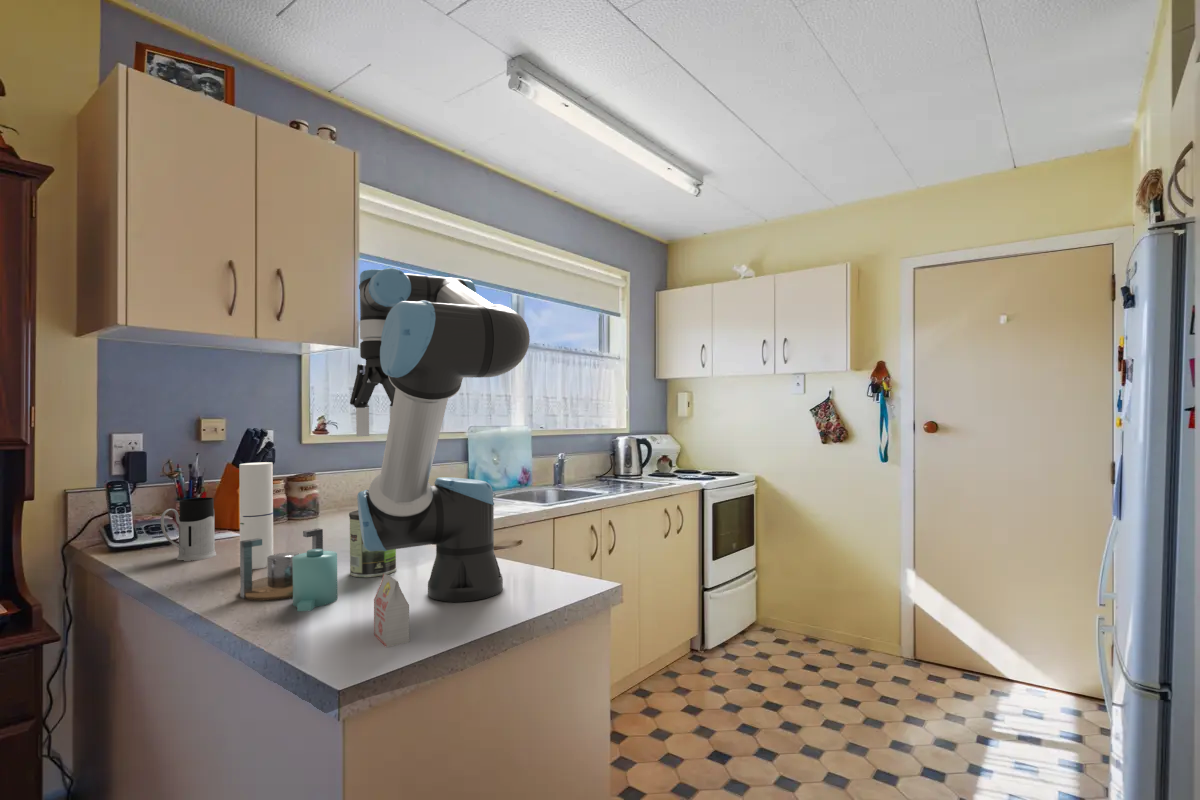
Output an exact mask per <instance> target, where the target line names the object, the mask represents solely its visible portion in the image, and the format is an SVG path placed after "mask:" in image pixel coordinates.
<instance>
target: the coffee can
mask: <svg viewBox="0 0 1200 800" xmlns="http://www.w3.org/2000/svg"><path fill="white" fill-rule="evenodd" d="M348 516H349V575H350V576H351V577H354V578H376V577H383V573H384V574H388V575H390V574H393V573H394V572H396V571H397V549H393V550H388V551H369V550H367V549H366V548H365V547H364V544H363V540H362V535H361V529H360V521H359V513H358V509H357V510H353V511H351V512H349V514H348Z"/></svg>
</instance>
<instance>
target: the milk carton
mask: <svg viewBox="0 0 1200 800" xmlns="http://www.w3.org/2000/svg"><path fill="white" fill-rule="evenodd" d="M373 632H374V633H373V635H374V636H375V638H377V640H378V641H380V643H382V644H383V646H384V647H385V648H388V647H389V648H390V647H393V646H397V645H398V646H399V645H402V644H407V643H410V640H411V639H410V604H409V602H408V601H407V599H406V597H405V595H404V593H403V591H402V590H401V587H400V584H399V581H397V580H396V579H395V578H393V577H392V575H391V576H390V574H384V573H383V576H382V577H381V581H380V584H379V586H378V589H377V591H376V594H375V596H374V599H373Z"/></svg>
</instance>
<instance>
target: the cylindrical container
mask: <svg viewBox="0 0 1200 800" xmlns="http://www.w3.org/2000/svg"><path fill="white" fill-rule="evenodd" d="M273 463H274V462H272V461H271V462H269V461H268V462H267V461H265V462H261V461H259V462H245V463H240V464H239V466H238V467H239V469H238V470H239V473H238V474H239V478H238V479H239V542H240V541H244V540H250V539H256V538H260V539H262V545H260V546H254V547H252V570H257V569H263V568H267V557H268V556H270V555H274V498H273V497H274V487H273V486H274V485H273V483H274V481H273V480H274V479H273V478H274V474H273V471H274V469H273Z"/></svg>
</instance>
